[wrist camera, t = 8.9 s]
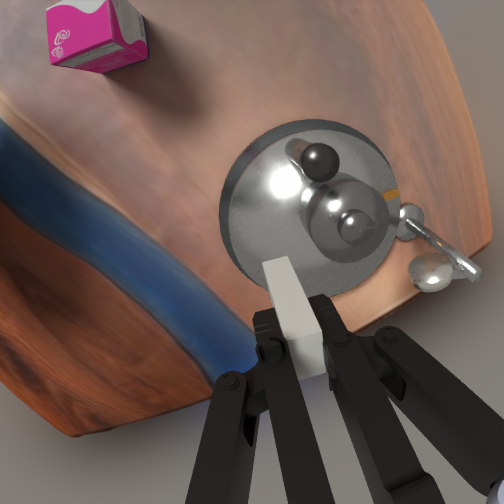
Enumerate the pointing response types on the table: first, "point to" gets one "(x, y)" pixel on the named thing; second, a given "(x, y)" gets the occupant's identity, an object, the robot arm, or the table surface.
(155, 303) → the table surface
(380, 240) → the cover
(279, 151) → the turntable
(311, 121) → the base
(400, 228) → the metal lever handle
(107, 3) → the supplement box
